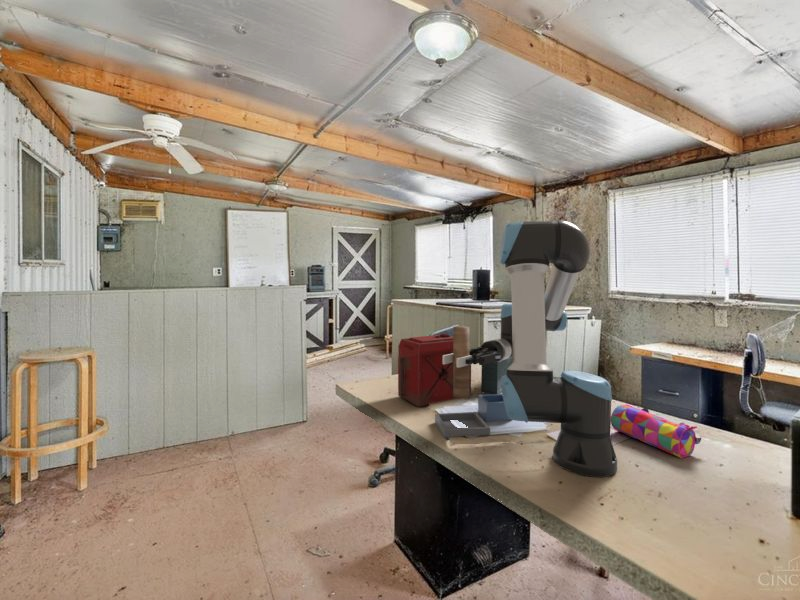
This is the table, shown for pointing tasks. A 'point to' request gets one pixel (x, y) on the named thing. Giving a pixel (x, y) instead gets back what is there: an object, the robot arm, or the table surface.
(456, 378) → the dowel
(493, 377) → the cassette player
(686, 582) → the table surface
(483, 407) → the open box
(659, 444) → the pencil case
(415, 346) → the jerry can
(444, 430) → the tray
